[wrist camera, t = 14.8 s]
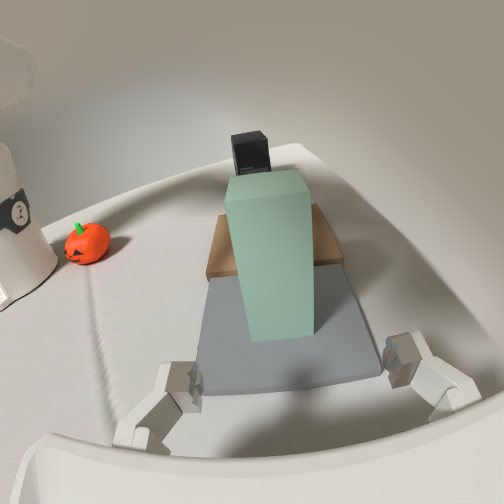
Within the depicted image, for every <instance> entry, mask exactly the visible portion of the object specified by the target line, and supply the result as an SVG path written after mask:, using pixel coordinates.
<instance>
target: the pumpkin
mask: <svg viewBox="0 0 504 504" xmlns="http://www.w3.org/2000/svg"><path fill="white" fill-rule="evenodd" d="M75 227H76V229H75V230H74V231H72V233H71V234H70V235H69V236H68V238H67V241H66V244H65V251H64V253H65V255H66V257H67V258H66V259H68V260H69V261H71V262H72V263H75V264H87V263H91V262H94V261H97V260H98V259H99V258H101V257H102V256H103V254H104V253H105V252H106V250H107V248H108V246H109V245H110V235H109V232H108V230H107V229H106V228H105V227H103V226H101V225H97V224H92V223H88V224H85V225H83V226H81V225H80V224H79V222H77V223H75Z"/></svg>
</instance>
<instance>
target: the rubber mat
mask: <svg viewBox="0 0 504 504" xmlns="http://www.w3.org/2000/svg"><path fill="white" fill-rule="evenodd" d="M313 272H314V335H312V336H304V337H296V338H287V339H278V340H269V341H258V342H252V340H251V335H250V330H249V326H248V321H247V316H246V311H245V306H244V301H243V296H242V291H241V287H240V282H239V277H238V275H236V276H227V277H217V278H210V283H209V288H208V293H207V299H206V304H205V310H204V316H203V321H202V327H201V333H200V339H199V345H198V351H197V357H196V363H197V364H198V370H199V371H200V372H201V373H202V375H203V379H204V392H203V393H202V394H201V395H200V396H216V395H242V394H258V393H270V392H281V391H290V390H299V389H307V388H314V387H321V386H328V385H334V384H340V383H346V382H351V381H356V380H361V379H366V378H371V377H376V376H380V374H381V371H382V368H381V365H380V362H379V359H378V357H377V354H376V351H375V348H374V346H373V343H372V340H371V338H370V335H369V332H368V330H367V327H366V324H365V322H364V319H363V317H362V314H361V312H360V309H359V307H358V304H357V302H356V299H355V297H354V294H353V292H352V289H351V287H350V285H349V282H348V280H347V278H346V275H345V273H344V271H343V268H342V266H341V264H340V263H339V264H331V265H323V266H315V267H313Z"/></svg>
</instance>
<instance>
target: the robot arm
mask: <svg viewBox="0 0 504 504" xmlns="http://www.w3.org/2000/svg"><path fill="white" fill-rule="evenodd" d="M36 74H37V63H36V60H35V57H34V55H33V53H32V52H31V50H30V49H29V48H27V47H26V46H24V45H19V44H15V43H12V42H10V41H8V40H6V39H5V38H4V37H3V36H2V35H1V34H0V112H2V111H4V110H6V109H8V108H9V107H11V106H12V105H14V104H15V103H17V102H18V101H20V100H21V99H23V98H24V97H26V96H27V95H28V94H29V93H30V91H31V89H32V87H33V85H34V82H35V79H36ZM57 263H58V257H57V255H56V254H55V253H54V248H53V247H52V245H51V244H48V242H47V240H46V238H45V236H44V235H43V233H42V231H41V229H40V227H39V225H38V223H37V221H36V220H35V218H34V216H33V215H31V213H30V211H29V203H28V200H27V196H26V194H25V192H24V190H23V189H22V188H20V185H19V181H18V178H17V175H16V172H15V168H14V165H13V161H12V158H11V154H10V151H9V149H8V148H7V146H6V145H4V144H3V143H1V142H0V311H1V310H3V309H4V308H5V307H7V306H8V305H9V304H10V303H12V302H13V301H15V300H16V299H18V298H20V297H22V296H24V295H25V294H27V293H29V292H30V291H32V290H33V289H34V288H36V287H37V286H38V285H39V284H41V283H42V282H43V281H44V280H45V279H46V278H47V277H48V276H49V275H50V274H51V273H52V271H53V270H54V268H55V267H56V265H57ZM386 345H387V347H386V348H385V349H384V350H383V364H384V367H385V369H386V370H387V371H389V372H390V373H389V376H388V378H389V381H390V384H391V387H392V389H394V388H399V387H403V386H407V385H409V386H410V387H411V388H412V389H413V390H415V391H416V392H417V393H418V394H419V395H420V396H421V397H423V398H424V399H425V400H426V401H427V402H428V403H429V404H431V405H432V406H433V407H434V408H435V409H434V410H433V412H432V413H431V415H430V416H429V418H428V421H429V424H426V425H423V426H420V427H417V428H414V429H411V430H408V431H404V432H401V433H398V434H394V435H391V436H387V437H383V438H380V439H376V440H372V441H368V442H363V443H359V444H354V445H349V446H344V447H339V448H334V449H328V450H322V451H315V452H308V453H300V454H291V455H281V456H268V457H250V458H201V457H183V456H171V455H170V452H171V451H170V450H169V448H168V447H166V446H165V445H164V444H163V443H162V441H163V439H164V438H165V437H166V435H167V434H168V433H169V432H170V430H171V429H172V428H173V426H174V425H175V424H176V422H177V421H178V420H179V419H180V417H181V416H182V415H183V413H201V408H202V398H201V397H200V395H201V394H202V393H203V392H204V379H203V375H202V373H201V372H200V371H199V370H198V364H197V363H196V361H192V362H173V361H172V362H162V363H161V364H160V367H159V371H158V375H157V379H156V383H155V387H154V391H153V392H150V393H149V394H148V395H147V396H146V397H145V398H144V399H142V400H141V401H140V402H139V403H138V404H137V405H136V406H135V407H134V408H133V409H132V410H131V411H130V412H129V413H128V414H127V415H126V416H125V417H124V418H123V419H122V420H121V421H120V422H119V423H118V425H117V428H116V432H115V436H114V440H113V444H112V447H108V446H103V445H99V444H94V443H90V442H86V441H82V440H78V439H74V438H70V437H67V436H63V435H60V434H57V433H48V434H46V435H44V436H43V437H41V438H40V439H39V440H37V441H36V442H35V443H34V444H32V445H31V446H30V447H29V448H28V449H27V451H26V453H25V455H24V457H23V459H22V461H21V464H20V467H19V469H18V472H17V475H16V479H15V482H14V486H13V489H12V493H11V497H10V502H9V504H504V390H503V391H501V392H499V393H497V394H495V395H493V396H491V397H489V398H487V399H485V400H483V399H482V397H481V395H480V393H479V391H478V388H477V386H476V384H475V382H474V380H473V379H472V378H470V377H469V376H467V375H466V374H464V373H462V372H461V371H459V370H458V369H456V368H455V367H453V366H451V365H450V364H448V363H447V362H445V361H443V360H442V359H440V358H439V357H437V356H433V354H432V352H431V351H430V349H429V347H428V345H427V343H426V341H425V339H424V337H423V335H422V333H421V332H420V331H419V330H416V331H412V332H407V333H403V334H398V335H394V336H390V337H388V338H387V339H386Z"/></svg>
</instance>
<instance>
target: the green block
mask: <svg viewBox="0 0 504 504" xmlns="http://www.w3.org/2000/svg"><path fill="white" fill-rule="evenodd" d="M224 204H225V210H226V215H227V220H228V225H229V231H230V236H231V241H232V246H233V251H234V256H235V261H236V266H237V272H238V277H239V282H240V287H241V291H242V296H243V301H244V306H245V311H246V316H247V321H248V326H249V330H250V335H251V340H252V342H258V341H269V340H278V339H287V338H296V337H304V336H312V335H314V272H313V236H312V212H311V194H310V190H309V188H308V186H307V185H306V183H305V181H304V179H303V177H302V175H301V173H300V172H299V170H298V169H290V170H281V171H272V172H263V173H255V174H247V175H240V176H232V177H230V179H229V183H228V187H227V192H226V196H225V200H224Z"/></svg>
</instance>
